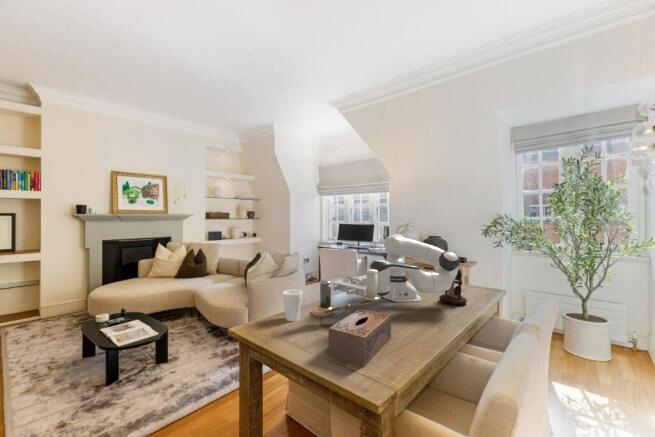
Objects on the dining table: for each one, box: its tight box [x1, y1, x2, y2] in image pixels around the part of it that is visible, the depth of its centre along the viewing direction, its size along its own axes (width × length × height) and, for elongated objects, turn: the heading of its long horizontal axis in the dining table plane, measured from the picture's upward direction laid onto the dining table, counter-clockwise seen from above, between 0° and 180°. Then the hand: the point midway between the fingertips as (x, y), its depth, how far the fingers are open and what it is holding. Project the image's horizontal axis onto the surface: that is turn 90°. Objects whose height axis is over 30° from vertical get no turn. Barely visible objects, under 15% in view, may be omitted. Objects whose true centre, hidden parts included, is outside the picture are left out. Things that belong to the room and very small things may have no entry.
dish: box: [311, 307, 332, 318], centre depth 146 cm, size 10×10×1 cm
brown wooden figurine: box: [438, 269, 468, 307], centre depth 167 cm, size 15×15×20 cm
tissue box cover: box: [327, 308, 392, 367], centre depth 110 cm, size 26×14×10 cm, turn 148°
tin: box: [319, 279, 332, 309], centre depth 132 cm, size 5×5×12 cm
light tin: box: [365, 268, 378, 298], centre depth 130 cm, size 5×5×12 cm
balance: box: [316, 295, 382, 328], centre depth 131 cm, size 29×8×14 cm, turn 84°
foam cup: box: [282, 289, 303, 322], centre depth 138 cm, size 10×9×13 cm
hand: (340, 290), depth 138 cm, fingers open, 8 cm apart
